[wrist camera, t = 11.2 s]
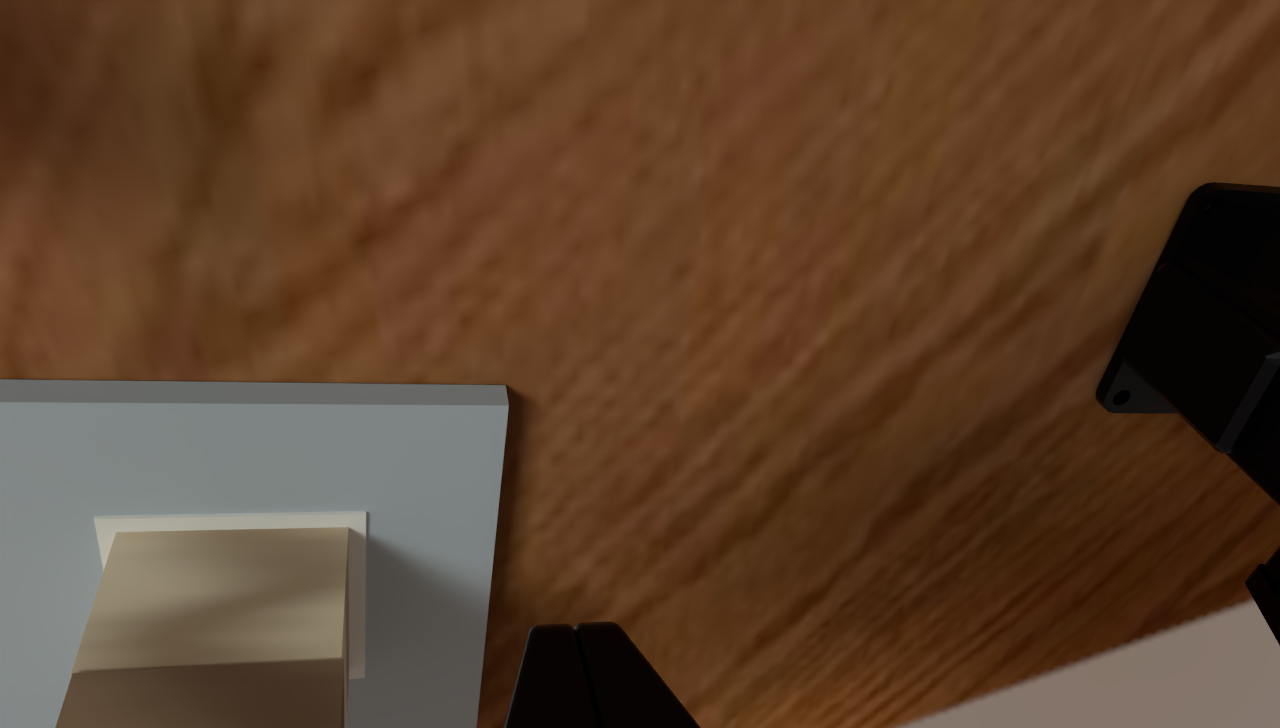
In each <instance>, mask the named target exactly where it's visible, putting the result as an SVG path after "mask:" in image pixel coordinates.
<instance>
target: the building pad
mask: <svg viewBox="0 0 1280 728" xmlns="http://www.w3.org/2000/svg"><path fill="white" fill-rule="evenodd" d="M508 409H509V404H508V397H507V391H506V385H437V384H351V383H265V382H179V381H94V380H8V379H0V728H55V727H56V724H57V721H58V718H59V714H60V711H61V708H62V705H63V702H64V699H65V696H66V692H67V689H68V686H69V683H70V680H71V677H70V675H71V672H72V669H73V666H74V663H75V659H76V656H77V653H78V650H79V647H80V644H81V641H82V637H83V634H84V631H85V628H86V625H87V622H88V619H89V615H90V612H91V609H92V606H93V603H94V600H95V597H96V593H97V590H98V587H99V584H100V581H101V578H102V575H103V571H104V568H105V565H106V562H107V559H108V556H109V553H110V549H111V546H112V543H113V540H114V537H115V534H116V532H144V531H191V530H237V529H284V528H331V527H348V541H349V683H348V705H347V727H346V728H477V718H478V708H479V698H480V688H481V678H482V668H483V658H484V648H485V638H486V628H487V618H488V608H489V598H490V588H491V578H492V568H493V558H494V548H495V538H496V528H497V518H498V508H499V498H500V488H501V479H502V469H503V459H504V449H505V439H506V429H507V419H508Z"/></svg>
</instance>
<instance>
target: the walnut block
mask: <svg viewBox="0 0 1280 728" xmlns="http://www.w3.org/2000/svg"><path fill="white" fill-rule="evenodd" d="M55 728H344V659H340V660H321V661H301V662H281V663H261V664H242V665H222V666H202V667H182V668H163V669H143V670H123V671H103V672H84V673H72V677H71V680H70V683H69V686H68V689H67V692H66V696H65V699H64V702H63V705H62V708H61V711H60V714H59V718H58V721H57V724H56V727H55Z"/></svg>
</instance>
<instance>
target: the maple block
mask: <svg viewBox="0 0 1280 728" xmlns="http://www.w3.org/2000/svg"><path fill="white" fill-rule="evenodd" d="M340 659H344V728H346V727H347V705H348V683H349V541H348V527H331V528H284V529H237V530H191V531H144V532H116V534H115V537H114V540H113V543H112V546H111V549H110V553H109V556H108V559H107V562H106V565H105V568H104V571H103V575H102V578H101V581H100V584H99V587H98V590H97V593H96V597H95V600H94V603H93V606H92V609H91V612H90V615H89V619H88V622H87V625H86V628H85V631H84V634H83V637H82V641H81V644H80V647H79V650H78V653H77V656H76V659H75V663H74V666H73V669H72V672H71V675H70V677H72V673H84V672H103V671H123V670H143V669H163V668H182V667H202V666H222V665H242V664H261V663H281V662H301V661H321V660H340Z"/></svg>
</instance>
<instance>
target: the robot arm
mask: <svg viewBox="0 0 1280 728" xmlns="http://www.w3.org/2000/svg"><path fill="white" fill-rule="evenodd" d="M1213 201H1214V203H1213V204H1212V205H1211V207H1210V208H1208V209H1207V210H1206V208H1207V207H1208V206H1209V204H1210V203H1212V202H1213ZM1118 392H1119V393H1118ZM1117 393H1118V394H1117ZM1096 399H1097V400H1098V402H1099V403H1100V404H1101V405H1102V406H1103V407H1104V408H1105V409H1106V410H1107V411H1108V412H1112V413H1178V414H1179V415H1180V416H1181V417H1182V418H1183V419H1184V420H1185V421H1186V422H1187V423H1188V424H1189V425H1190V426H1191V427H1193V428H1194V429H1195V430H1196V431H1197V432H1198V433H1199V434H1200V435H1201V436H1202V437H1203V438H1204V439H1205V440H1206V441H1207V442H1208V443H1209V444H1210V445H1211V446H1212V447H1213V448H1214V449H1215V450H1216V451H1218V452H1220V453H1225V454H1226V455H1227V456H1228V457H1229V458H1230V459H1231V460H1232V461H1233V462H1234V463H1236V464H1237V465H1238V466H1239V467H1240V468H1241V469H1242V470H1243V471H1244V472H1245V473H1246V474H1247V475H1248V476H1249V477H1250V478H1251V479H1252V480H1253V481H1254V482H1255V483H1256V484H1257V485H1258V486H1260V487H1261V488H1262V489H1263V490H1264V491H1265V492H1266V493H1267V494H1268V495H1269V496H1270V497H1271V498H1272V499H1273V500H1274V501H1275V502H1276V503H1277V504H1278V505H1279V506H1280V187H1271V186H1257V185H1243V184H1230V183H1216V182H1213V183H1207V184H1204V185H1202V186H1200V187H1199V188H1198V189H1196V190H1195V191H1194V192H1193V193H1192V194H1191V196H1190V197H1189V199H1188V200H1187V202H1186V204H1185V206H1184V208H1183V210H1182V213H1181V215H1180V217H1179V219H1178V221H1177V223H1176V225H1175V227H1174V229H1173V231H1172V233H1171V236H1170V238H1169V240H1168V242H1167V244H1166V246H1165V248H1164V250H1163V252H1162V254H1161V256H1160V259H1159V261H1158V263H1157V265H1156V267H1155V269H1154V271H1153V273H1152V275H1151V277H1150V279H1149V281H1148V284H1147V286H1146V288H1145V290H1144V292H1143V294H1142V296H1141V298H1140V300H1139V302H1138V304H1137V307H1136V309H1135V311H1134V313H1133V315H1132V317H1131V319H1130V321H1129V323H1128V325H1127V327H1126V330H1125V332H1124V334H1123V336H1122V338H1121V340H1120V342H1119V344H1118V346H1117V348H1116V350H1115V353H1114V355H1113V357H1112V359H1111V361H1110V363H1109V365H1108V367H1107V369H1106V371H1105V373H1104V375H1103V378H1102V380H1101V382H1100V384H1099V386H1098V388H1097V391H1096ZM1245 584H1246V586H1247V588H1248V590H1249V591H1250V593H1251V595H1252V597H1253V598H1254V600H1255V602H1256V604H1257V606H1258V607H1259V609H1260V611H1261V613H1262V615H1263V616H1264V618H1265V620H1266V622H1267V623H1268V625H1269V627H1270V629H1271V630H1272V632H1273V634H1274V636H1275V638H1276V640H1277V641H1278V643H1279V645H1280V547H1279V548H1278V549H1277V550H1276V551H1275V553H1274V554H1273V555H1272V556H1271V558H1270V559H1269V560H1268V561H1267V562H1266V564H1259V565H1258V566H1257V568H1256V569H1255V570H1254V571H1253V573H1252V574H1251V575H1250V576H1249V577H1248V579H1247V580H1246V581H1245ZM504 728H700V727H699V725H698V724H697V723H696V721H695V720H694V719H693V718H692V716H691V715H690V714H689V713H688V711H687V710H686V709H685V708H684V706H683V705H682V704H681V703H680V701H679V700H678V699H677V697H676V696H675V695H674V694H673V692H672V691H671V690H670V689H669V687H668V686H667V685H666V684H665V682H664V681H663V680H662V679H661V677H660V676H659V675H658V673H657V672H656V671H655V670H654V668H653V667H652V666H651V665H650V663H649V662H648V661H647V660H646V658H645V657H644V656H643V655H642V653H641V652H640V651H639V649H638V648H637V647H636V646H635V644H634V643H633V642H632V641H631V639H630V638H629V637H628V636H627V634H626V633H625V632H624V631H623V629H622V628H621V627H620V626H619V625H618V624H616V623H614V622H591V623H580V624H577V625H576V626H575V627H574V629H573V628H572V626H571V625H569V624H548V625H535V626H533V627H532V628H531V629H530V631H529V634H528V637H527V641H526V645H525V648H524V652H523V656H522V660H521V664H520V668H519V672H518V675H517V679H516V683H515V687H514V691H513V695H512V698H511V702H510V706H509V710H508V714H507V718H506V721H505V725H504Z"/></svg>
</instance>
